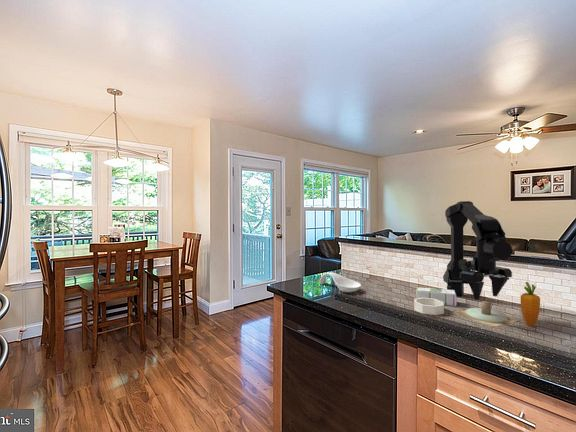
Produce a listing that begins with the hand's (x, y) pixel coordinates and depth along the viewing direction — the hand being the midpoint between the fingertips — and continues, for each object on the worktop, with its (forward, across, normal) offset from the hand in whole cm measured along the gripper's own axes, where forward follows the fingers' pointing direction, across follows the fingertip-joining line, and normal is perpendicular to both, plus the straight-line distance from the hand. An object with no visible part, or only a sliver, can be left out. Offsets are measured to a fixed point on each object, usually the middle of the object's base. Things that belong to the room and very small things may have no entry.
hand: (485, 297), depth 104 cm
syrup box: (+5, +8, -24) cm, 26 cm away
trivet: (+8, 0, 0) cm, 8 cm away
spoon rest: (+8, +27, -55) cm, 62 cm away
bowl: (+8, +13, -13) cm, 20 cm away
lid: (+7, 0, 0) cm, 7 cm away
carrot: (+8, -5, +11) cm, 14 cm away
